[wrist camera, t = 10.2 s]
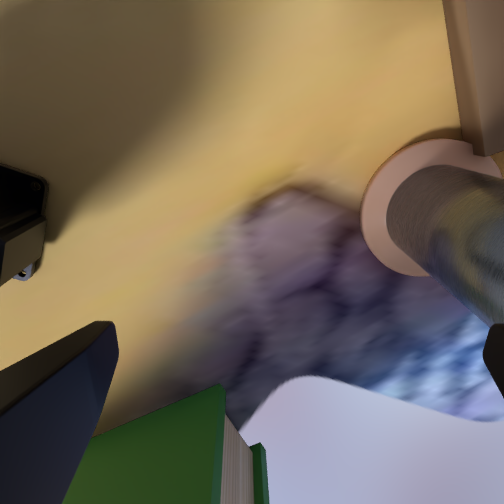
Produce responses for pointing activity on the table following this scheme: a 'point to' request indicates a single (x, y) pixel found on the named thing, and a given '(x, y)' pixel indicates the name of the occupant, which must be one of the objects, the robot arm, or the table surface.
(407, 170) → the coaster
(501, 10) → the pocket frame
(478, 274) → the tea tin
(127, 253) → the table surface
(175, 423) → the hardback book
